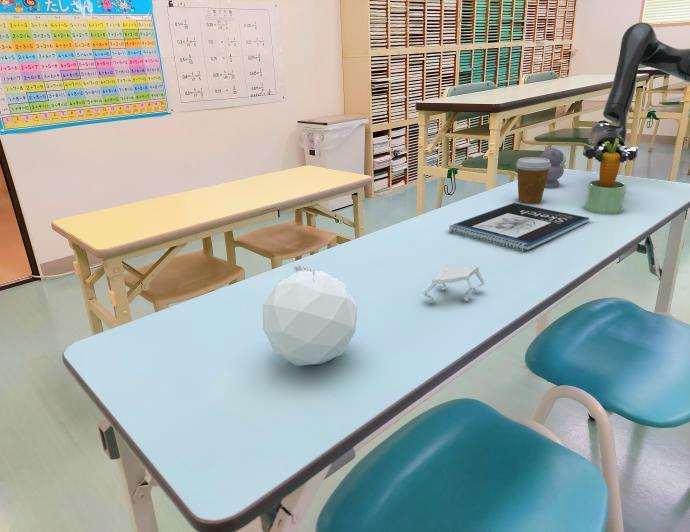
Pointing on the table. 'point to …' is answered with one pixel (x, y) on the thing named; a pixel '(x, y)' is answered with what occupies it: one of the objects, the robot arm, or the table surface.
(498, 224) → the sketchbook
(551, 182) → the cat figurine
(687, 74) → the robot arm
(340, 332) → the geodesic sphere
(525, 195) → the disposable coffee cup
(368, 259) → the table surface
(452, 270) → the white legged piece
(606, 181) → the carrot
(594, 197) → the green cup
